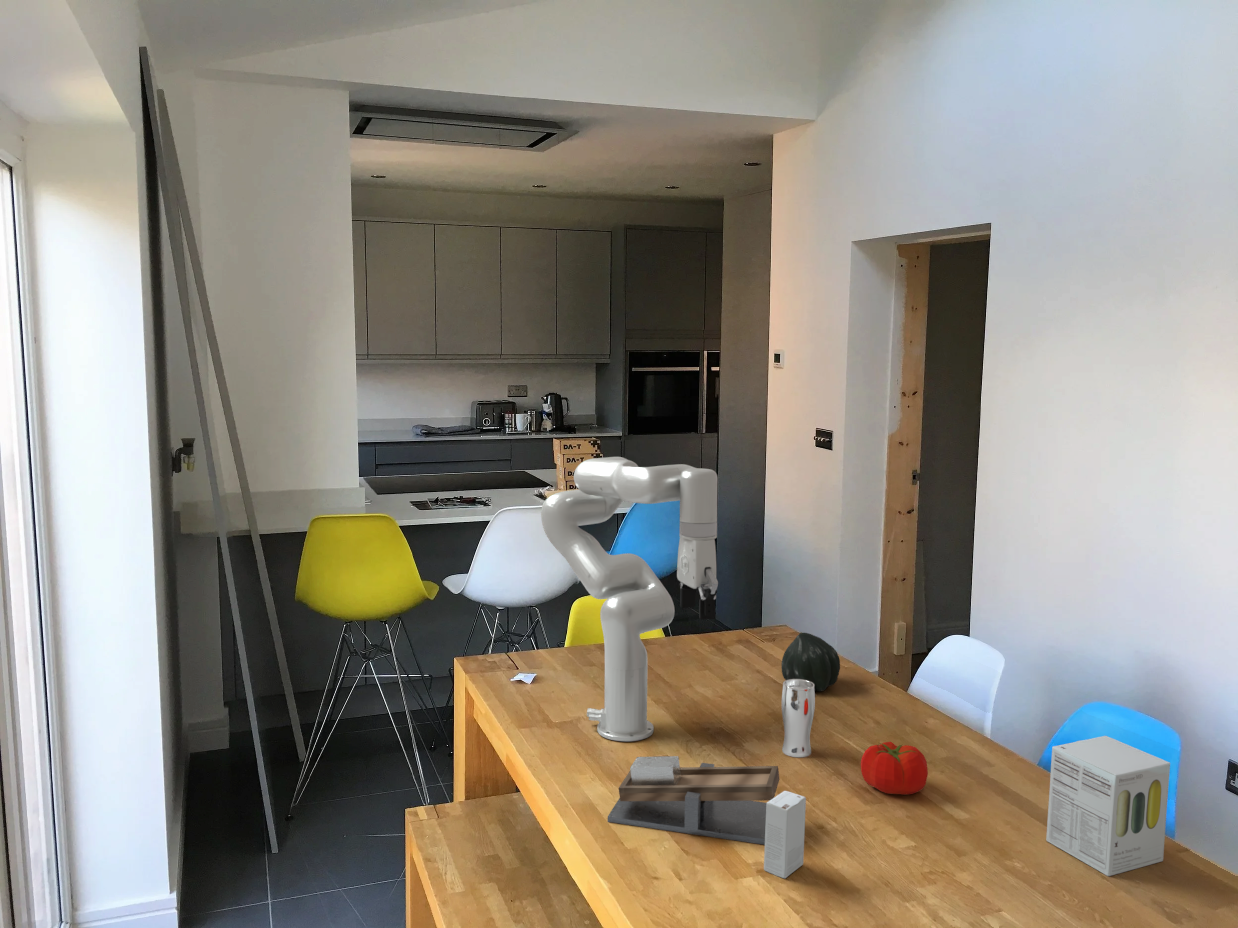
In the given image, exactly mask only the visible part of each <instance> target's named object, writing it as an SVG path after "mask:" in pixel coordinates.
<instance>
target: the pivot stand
mask: <svg viewBox="0 0 1238 928" xmlns="http://www.w3.org/2000/svg"><path fill="white" fill-rule="evenodd" d="M699 767H715V764H714V763H707V762H701V763H700V765H699ZM766 804H767V802H763V801H701V793H694V792H687V794H686V796H685V801H620V797H619V798H618V800H617V801H616V803H615V804H614V805H613V807H612V809H611V811H610V812H609V813H608V815H607V823H612V824H613V823H614V824H621V825H629V826H632V827H633V826H635V827H640V828H641V827H642V828H648V829H654V830H661V831H668V832H675V833H681V834H689V835H696V836H701V837H702V836H704V837H710V838H716V839H722V840H730V841H738V842H742V843H744V842H745V843H750V844H757V845H764V846H765V827H766Z"/></svg>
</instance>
